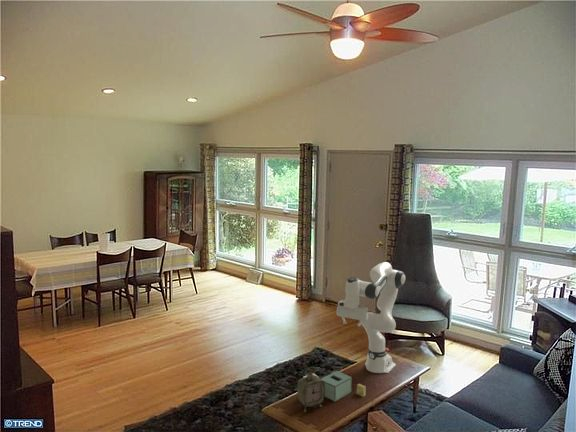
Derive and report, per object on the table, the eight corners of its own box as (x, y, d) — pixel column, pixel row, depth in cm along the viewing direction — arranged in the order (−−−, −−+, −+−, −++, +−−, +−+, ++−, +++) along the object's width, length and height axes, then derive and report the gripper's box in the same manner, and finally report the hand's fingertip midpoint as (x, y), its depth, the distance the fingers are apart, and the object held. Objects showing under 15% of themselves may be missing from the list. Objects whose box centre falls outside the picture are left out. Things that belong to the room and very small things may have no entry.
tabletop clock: (303, 414, 258) (303, 373, 255) (295, 407, 266) (295, 366, 263) (324, 407, 265) (325, 367, 262) (316, 400, 273) (316, 361, 270)
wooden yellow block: (359, 392, 282) (359, 383, 282) (365, 395, 279) (365, 386, 278) (356, 394, 281) (356, 384, 280) (363, 397, 277) (363, 387, 277)
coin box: (336, 385, 291) (336, 370, 290) (351, 392, 283) (351, 377, 282) (319, 394, 280) (320, 379, 279) (334, 401, 272) (334, 386, 271)
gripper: (369, 304, 282) (369, 326, 283) (339, 299, 291) (338, 320, 293) (366, 307, 276) (366, 329, 278) (335, 302, 286) (335, 323, 288)
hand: (351, 324), depth 285 cm, fingers open, 8 cm apart
